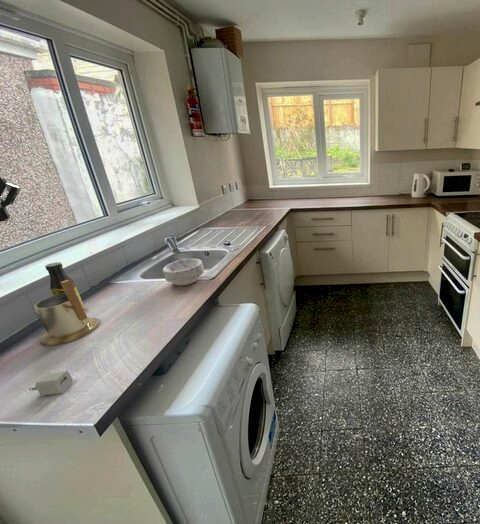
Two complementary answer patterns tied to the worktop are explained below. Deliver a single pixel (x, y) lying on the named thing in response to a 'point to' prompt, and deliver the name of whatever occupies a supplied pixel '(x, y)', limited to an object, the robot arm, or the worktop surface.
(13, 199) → the robot arm
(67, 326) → the flanged cylinder with handle
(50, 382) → the usb wall charger
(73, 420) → the worktop surface
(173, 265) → the white purple floral bowl
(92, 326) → the turntable
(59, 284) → the sauce bottle
